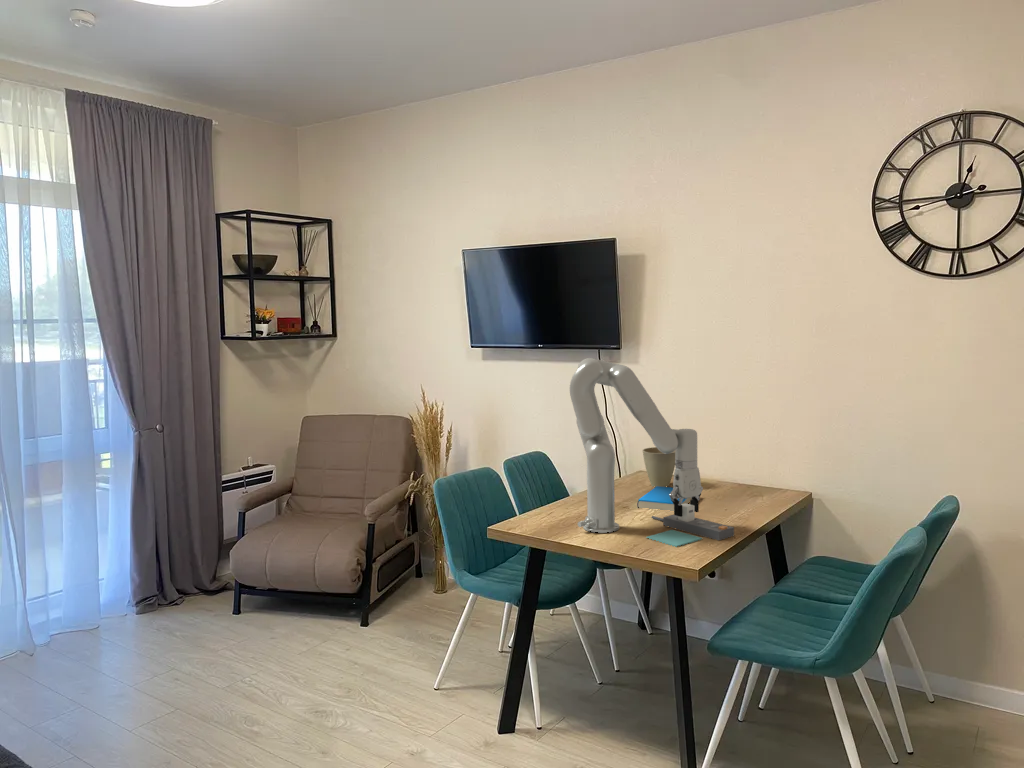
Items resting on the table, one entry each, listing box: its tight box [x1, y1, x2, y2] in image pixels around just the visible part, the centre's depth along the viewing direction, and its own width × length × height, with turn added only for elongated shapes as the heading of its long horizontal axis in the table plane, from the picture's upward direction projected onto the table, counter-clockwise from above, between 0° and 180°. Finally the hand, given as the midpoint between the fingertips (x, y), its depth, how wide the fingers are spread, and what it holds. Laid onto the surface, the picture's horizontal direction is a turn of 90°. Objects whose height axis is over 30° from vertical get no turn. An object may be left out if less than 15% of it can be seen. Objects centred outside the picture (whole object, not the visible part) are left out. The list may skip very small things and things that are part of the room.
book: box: [636, 486, 692, 512], centre depth 299 cm, size 17×4×25 cm
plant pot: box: [642, 446, 675, 488], centre depth 328 cm, size 15×15×16 cm
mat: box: [645, 529, 703, 548], centre depth 252 cm, size 13×13×1 cm
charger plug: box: [678, 503, 696, 522], centre depth 264 cm, size 4×4×8 cm
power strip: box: [650, 514, 735, 541], centre depth 264 cm, size 33×8×4 cm, turn 38°
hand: (686, 513), depth 264 cm, fingers open, 8 cm apart
